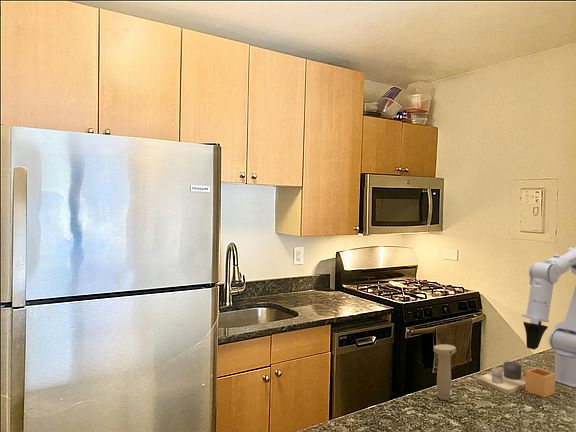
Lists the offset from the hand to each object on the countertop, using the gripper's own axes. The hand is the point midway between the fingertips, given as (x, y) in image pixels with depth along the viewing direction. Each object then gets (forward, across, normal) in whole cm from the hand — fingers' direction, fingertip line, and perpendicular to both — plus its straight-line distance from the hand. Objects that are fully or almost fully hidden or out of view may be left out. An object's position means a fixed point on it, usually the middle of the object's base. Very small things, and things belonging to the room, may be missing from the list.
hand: (532, 348), depth 132 cm
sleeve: (+13, -7, +3) cm, 15 cm away
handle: (+20, +14, -19) cm, 31 cm away
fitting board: (+13, -8, -7) cm, 17 cm away
